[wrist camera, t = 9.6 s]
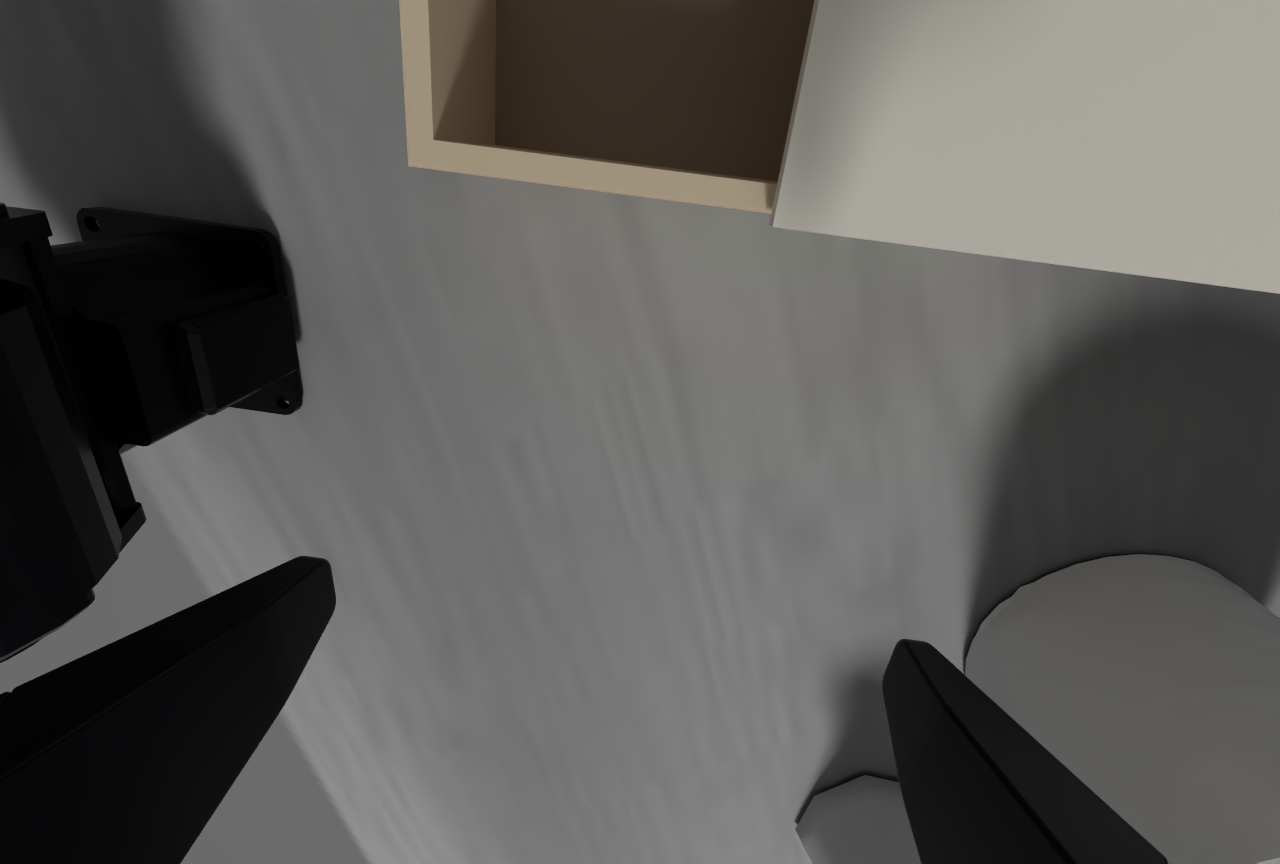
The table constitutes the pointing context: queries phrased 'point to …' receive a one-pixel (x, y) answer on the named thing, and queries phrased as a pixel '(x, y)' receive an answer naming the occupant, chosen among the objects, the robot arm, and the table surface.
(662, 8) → the carton
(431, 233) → the table surface
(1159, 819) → the toilet tissue
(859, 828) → the flask
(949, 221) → the carton lid
